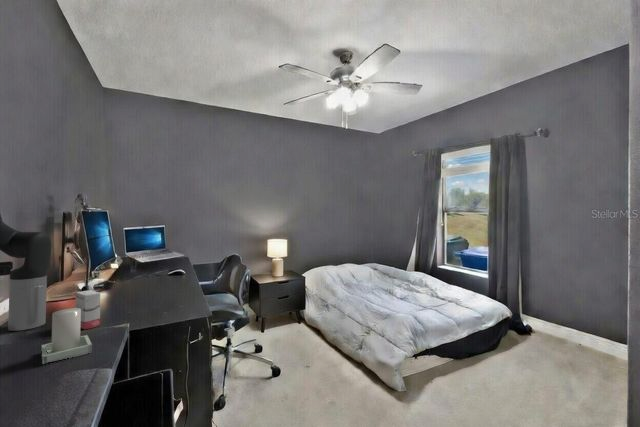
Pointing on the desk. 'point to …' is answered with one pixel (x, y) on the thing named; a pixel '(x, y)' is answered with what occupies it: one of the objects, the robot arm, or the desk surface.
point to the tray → (66, 351)
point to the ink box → (88, 308)
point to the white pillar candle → (66, 329)
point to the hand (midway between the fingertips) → (11, 267)
